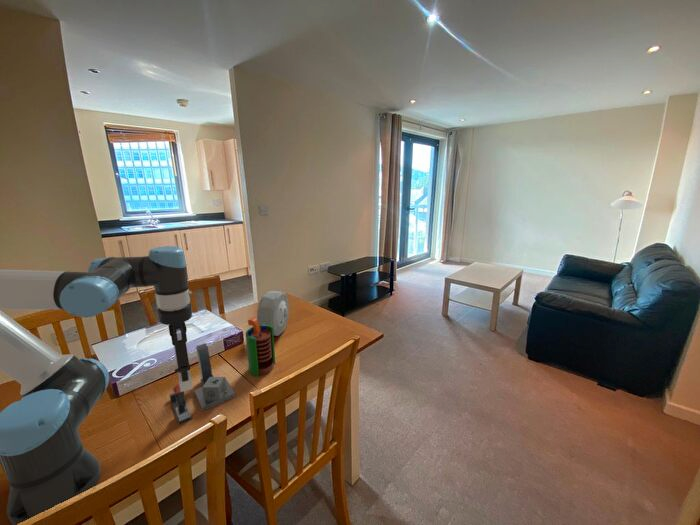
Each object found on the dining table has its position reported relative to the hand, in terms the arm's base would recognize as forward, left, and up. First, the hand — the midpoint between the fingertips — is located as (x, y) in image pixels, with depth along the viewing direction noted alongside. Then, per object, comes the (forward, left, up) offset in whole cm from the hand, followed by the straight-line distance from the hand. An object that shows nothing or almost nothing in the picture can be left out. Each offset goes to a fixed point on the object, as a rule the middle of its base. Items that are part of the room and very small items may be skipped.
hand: (183, 375), depth 83 cm
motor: (+26, +11, -16) cm, 33 cm away
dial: (+43, +32, -16) cm, 56 cm away
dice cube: (+8, +5, -15) cm, 18 cm away
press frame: (+5, +10, -16) cm, 19 cm away
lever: (-2, +3, -16) cm, 16 cm away
